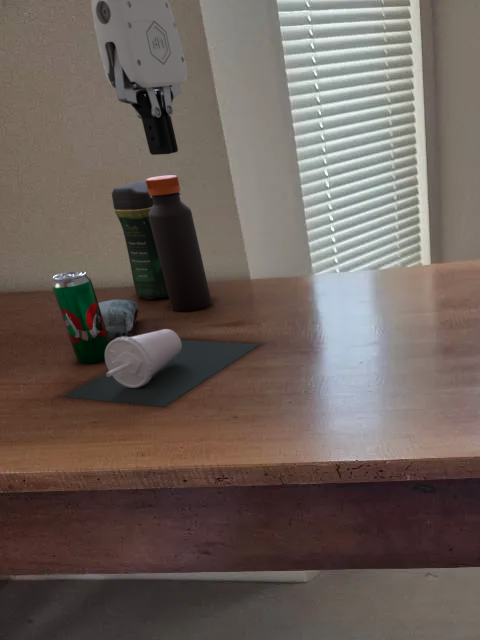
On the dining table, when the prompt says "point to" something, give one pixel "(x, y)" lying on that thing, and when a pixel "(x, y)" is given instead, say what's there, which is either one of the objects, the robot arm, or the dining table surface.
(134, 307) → the packaged food
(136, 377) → the smoothie
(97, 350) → the soda can
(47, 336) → the dining table surface
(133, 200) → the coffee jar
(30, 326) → the dining table surface
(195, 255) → the vinegar
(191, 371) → the mat
